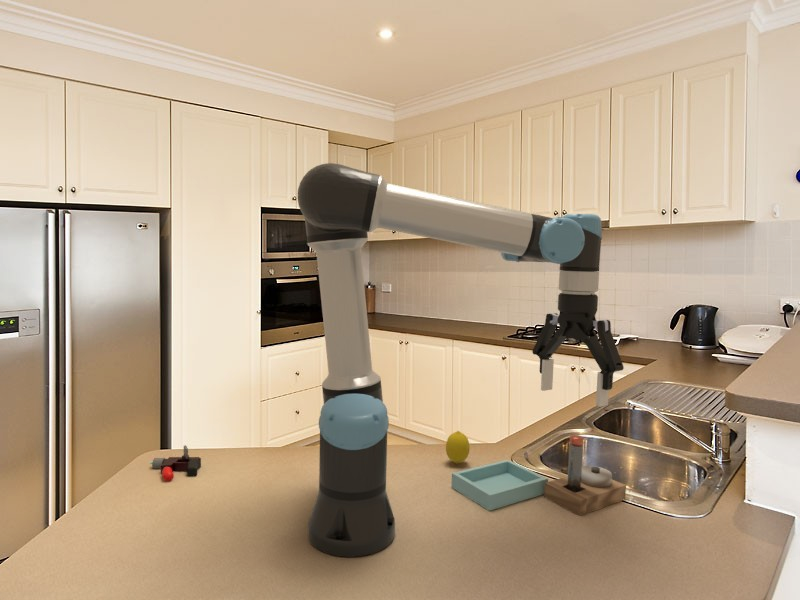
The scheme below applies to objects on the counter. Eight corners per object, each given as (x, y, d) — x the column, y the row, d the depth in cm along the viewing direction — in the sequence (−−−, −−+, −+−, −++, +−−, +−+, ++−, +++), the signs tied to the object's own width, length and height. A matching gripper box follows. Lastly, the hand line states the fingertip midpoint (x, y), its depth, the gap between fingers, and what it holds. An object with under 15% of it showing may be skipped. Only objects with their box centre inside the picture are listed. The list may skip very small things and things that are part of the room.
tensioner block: (579, 515, 102) (581, 486, 102) (544, 497, 110) (545, 469, 109) (625, 499, 110) (626, 472, 109) (588, 483, 117) (590, 457, 117)
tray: (489, 510, 103) (490, 495, 103) (451, 487, 113) (451, 473, 113) (547, 493, 112) (547, 478, 112) (507, 472, 122) (507, 459, 122)
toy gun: (152, 465, 122) (152, 445, 121) (206, 465, 122) (205, 445, 122) (133, 484, 112) (133, 461, 111) (192, 484, 113) (191, 461, 112)
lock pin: (573, 506, 106) (577, 440, 105) (563, 500, 108) (567, 436, 107) (582, 503, 108) (586, 438, 106) (572, 498, 110) (575, 434, 109)
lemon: (467, 469, 123) (469, 436, 122) (444, 467, 124) (445, 433, 123) (469, 460, 128) (470, 428, 128) (446, 458, 129) (447, 426, 129)
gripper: (647, 297, 98) (640, 410, 100) (542, 288, 119) (538, 382, 120) (623, 298, 94) (616, 416, 96) (518, 288, 115) (514, 386, 116)
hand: (572, 397), depth 108 cm, fingers open, 13 cm apart
